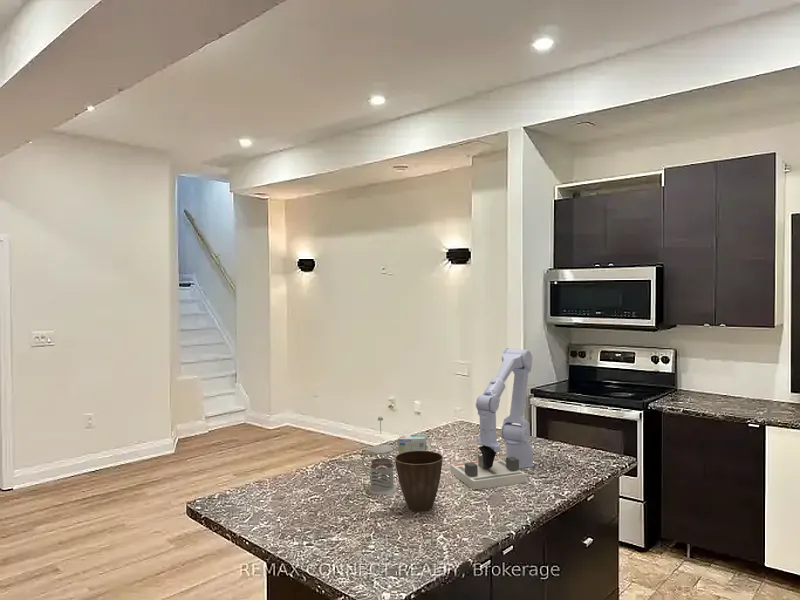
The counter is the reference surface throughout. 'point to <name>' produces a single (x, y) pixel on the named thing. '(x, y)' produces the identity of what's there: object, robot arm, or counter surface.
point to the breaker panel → (489, 473)
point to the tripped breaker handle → (481, 462)
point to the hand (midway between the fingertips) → (488, 466)
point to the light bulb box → (411, 443)
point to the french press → (381, 470)
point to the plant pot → (419, 478)
